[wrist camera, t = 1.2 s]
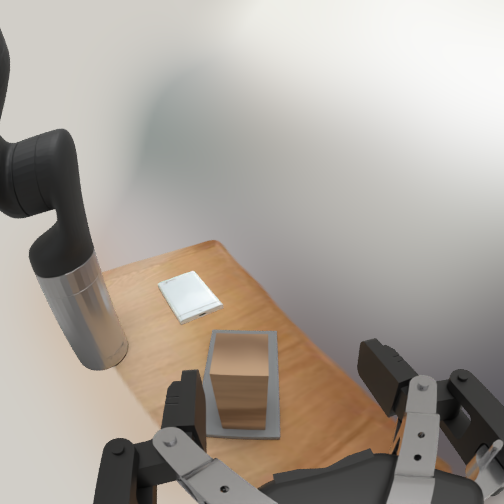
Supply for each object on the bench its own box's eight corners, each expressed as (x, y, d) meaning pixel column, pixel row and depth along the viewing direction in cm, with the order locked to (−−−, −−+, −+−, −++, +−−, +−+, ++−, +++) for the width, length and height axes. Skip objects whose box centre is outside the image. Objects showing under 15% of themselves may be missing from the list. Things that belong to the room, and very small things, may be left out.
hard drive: (157, 282, 54) (179, 320, 45) (194, 269, 57) (223, 303, 48) (158, 289, 54) (181, 327, 45) (195, 276, 58) (223, 310, 49)
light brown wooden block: (265, 430, 28) (268, 375, 22) (222, 428, 28) (209, 373, 22) (265, 396, 32) (268, 334, 26) (226, 395, 33) (216, 332, 27)
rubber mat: (279, 439, 28) (280, 437, 27) (195, 435, 28) (194, 433, 28) (276, 334, 43) (276, 330, 43) (213, 333, 44) (212, 329, 43)
